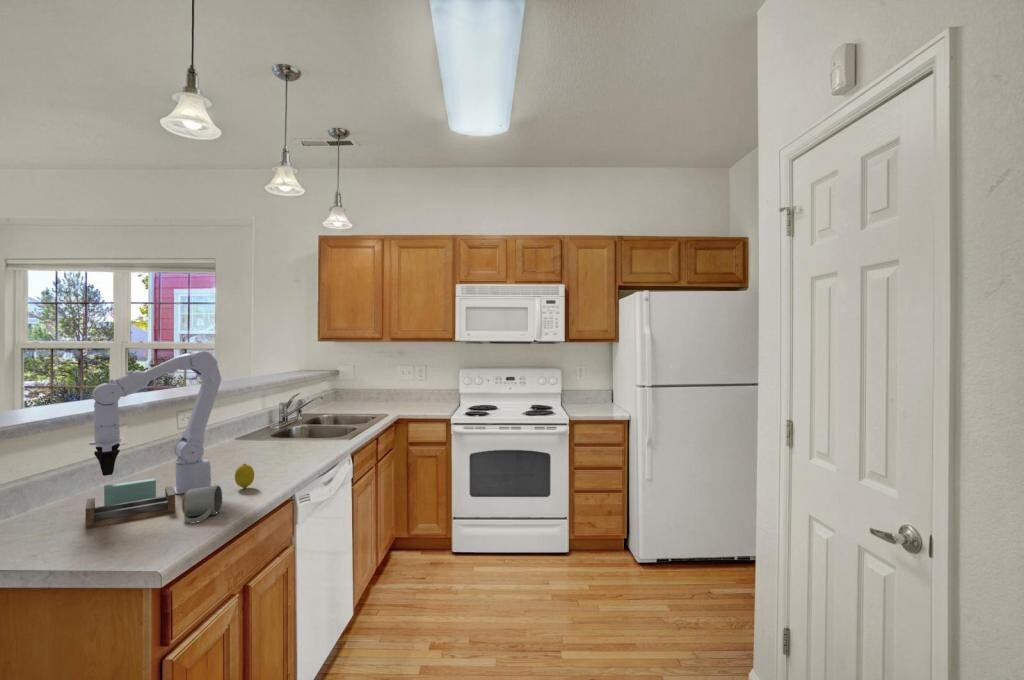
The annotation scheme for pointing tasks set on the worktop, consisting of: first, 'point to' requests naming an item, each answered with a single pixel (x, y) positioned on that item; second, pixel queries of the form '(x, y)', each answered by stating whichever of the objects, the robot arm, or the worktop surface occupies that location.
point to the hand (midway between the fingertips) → (108, 472)
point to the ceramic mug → (202, 502)
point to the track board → (129, 510)
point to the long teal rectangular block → (129, 491)
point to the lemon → (244, 475)
